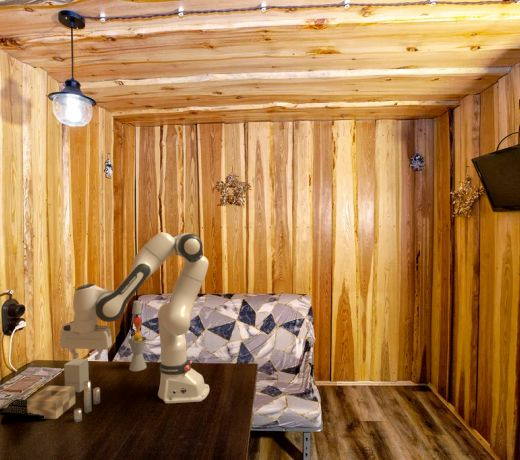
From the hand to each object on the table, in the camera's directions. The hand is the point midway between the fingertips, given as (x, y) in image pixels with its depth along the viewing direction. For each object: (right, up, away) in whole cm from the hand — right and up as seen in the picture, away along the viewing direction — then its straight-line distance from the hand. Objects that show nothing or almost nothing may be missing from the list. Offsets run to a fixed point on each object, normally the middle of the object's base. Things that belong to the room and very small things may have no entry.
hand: (86, 359), depth 142 cm
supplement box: (-14, -21, +20) cm, 32 cm away
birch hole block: (-15, -21, +2) cm, 26 cm away
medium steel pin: (+1, -21, +7) cm, 22 cm away
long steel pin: (0, -21, +1) cm, 21 cm away
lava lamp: (+6, -20, +42) cm, 47 cm away
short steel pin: (0, -22, -6) cm, 22 cm away
